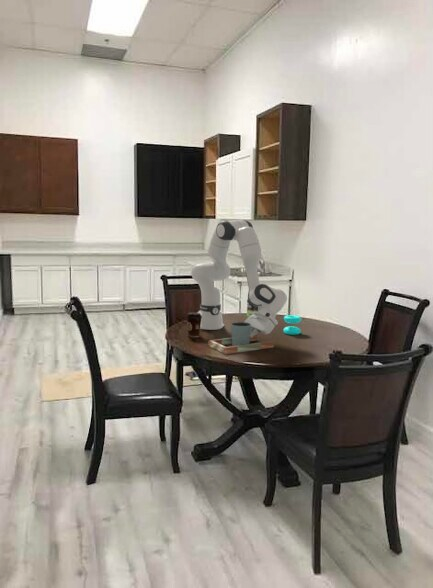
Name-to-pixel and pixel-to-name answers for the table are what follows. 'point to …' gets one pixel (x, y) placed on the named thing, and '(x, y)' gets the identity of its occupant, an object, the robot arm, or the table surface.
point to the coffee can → (252, 309)
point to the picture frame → (219, 344)
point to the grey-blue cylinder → (240, 333)
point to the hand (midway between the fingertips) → (249, 336)
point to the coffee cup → (193, 324)
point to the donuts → (291, 329)
